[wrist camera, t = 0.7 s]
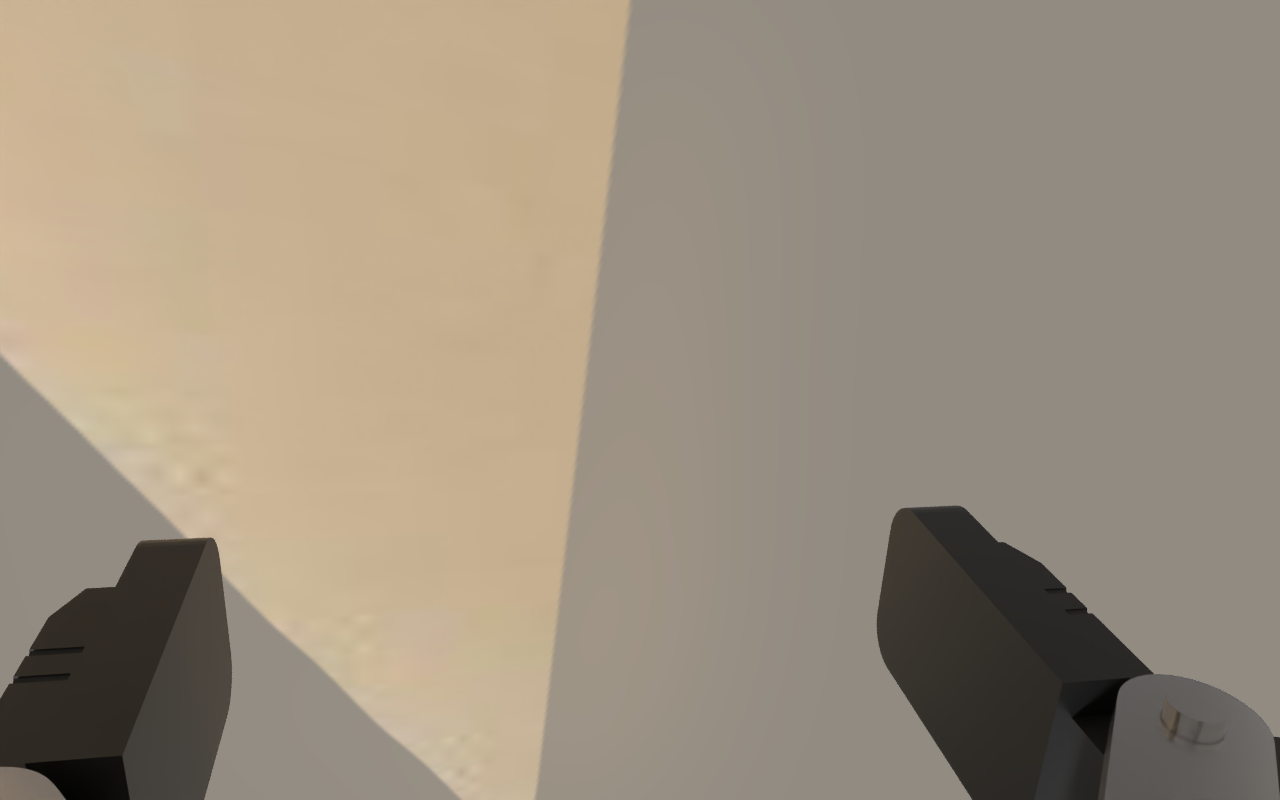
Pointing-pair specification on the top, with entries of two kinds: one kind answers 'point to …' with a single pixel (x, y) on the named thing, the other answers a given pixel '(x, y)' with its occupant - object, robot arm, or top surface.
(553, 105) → the top surface
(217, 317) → the top surface
